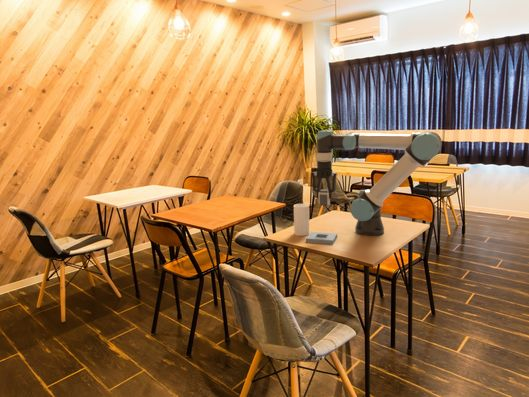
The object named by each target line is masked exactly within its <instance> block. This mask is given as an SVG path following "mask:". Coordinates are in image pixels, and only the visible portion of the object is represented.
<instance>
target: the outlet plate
mask: <svg viewBox="0 0 529 397" xmlns="http://www.w3.org/2000/svg"><path fill="white" fill-rule="evenodd" d="M337 239H338V232H337V233H336V232H333V233H332V232H320V231H311V232H309V234H308V235H306V237H305V243H309V244H310V243H312V244H324V245H326V244H327V245H334V243H335V242H336V240H337Z"/></svg>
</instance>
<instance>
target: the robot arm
mask: <svg viewBox="0 0 529 397" xmlns="http://www.w3.org/2000/svg"><path fill="white" fill-rule="evenodd" d="M316 145H317V146H316V148H317V151H316V156H317V157H316V160H317V163H316V171H313V172H311V175H312V190H313V191H314V192H316V198H317V199H318V205H320V190H321V187H322V182H323V180H324V179H325V180H326V185H327V186H326V187H327V189H328V191H329V192H328V193H327V206H330V205H331V199H332V198H333V193H334V192H336V186H337V185H336V184H337V176H338V172H334V171H333V168H332V166H333V165H332V160H333V159H332V158H333V156H332V155H333V150H343V151H344V150H346V151H350V150H351V151H352V150H354V149H357V148H358V149H361V148H362V149H378V150H379V149H381V150H382V149H383V150H384V149H385V150H398V151H399V150H401V151H404V154H403V156H402V157H401V158H400V159H399V160H397V161H396V162H395V164H393V165H392V166H391V168H390V169H389V170H388V171H386V172H385V173H384V175H383V176H382V177H381V178H379V180H378V181H377V182H376V183H375V184H374V185H373V186H372V187H371V188H370V189H360V190H359V191H358V197H357V198H356V199H354V200H353V201H352V203H351V204H350V207H349V210H350V214H351V215H352V217H353V218H354V219H355V220H357V221H356V224H355V233H356V234H360V235H362V236H363V235H364V236H378V235H382V234H384V232H385V226H384V224H383V221H382V218H381V217H382V207H383V206H384V201H385V200H386V199H387V198H388V197H389V196H390V195H391V194H392V193H393V192H394V191H396V189H397V188H398V187H400V185H401V184H402V183H403V182H405V181H406V180H407V178H409V176H411V175H412V174H413V173H414V172H415V171H416V170H417V169H418V168H419V167H425V166H426V165H427V164H428V163H429V162H430V161H431V160H432V159H433V158H435V157H436V156H437V155H438V154H439V152H440V150H441V149H442V146H443V140H442V138H441V136H440V135H439V134H438V133H436V132H434V131H423V132H412V133H411V134H396V133H394V134H393V133H358V132H348V133H344V134H334V133H333V132H332V130H319V131H317V138H316ZM317 176H318V182H317ZM331 176H332V180H331V178H330V177H331ZM331 181H332V183H331Z"/></svg>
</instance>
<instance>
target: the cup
mask: <svg viewBox="0 0 529 397" xmlns="http://www.w3.org/2000/svg"><path fill="white" fill-rule="evenodd" d="M309 207H310V205H309V204H307V203H296V204H294V205H293V228H294V229H293V230H294V235H295V236H301V237H304V236H308V235H309V234H310V208H309Z"/></svg>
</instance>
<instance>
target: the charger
mask: <svg viewBox="0 0 529 397" xmlns="http://www.w3.org/2000/svg"><path fill="white" fill-rule="evenodd" d="M328 192H329V191H328V188H327V189H324V188H323V189H321V188H320V204H319V206H323V207H326V206H328V205H327V193H328Z"/></svg>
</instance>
